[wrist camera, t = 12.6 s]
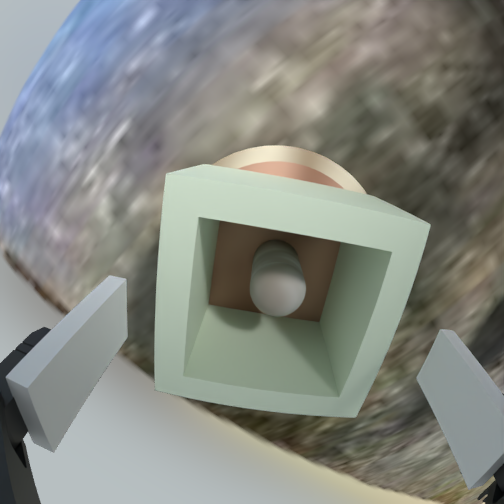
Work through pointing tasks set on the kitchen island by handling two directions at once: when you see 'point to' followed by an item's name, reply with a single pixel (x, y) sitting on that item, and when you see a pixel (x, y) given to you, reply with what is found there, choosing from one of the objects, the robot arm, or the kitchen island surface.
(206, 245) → the square ring
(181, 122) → the kitchen island surface
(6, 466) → the robot arm
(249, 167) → the post stand
